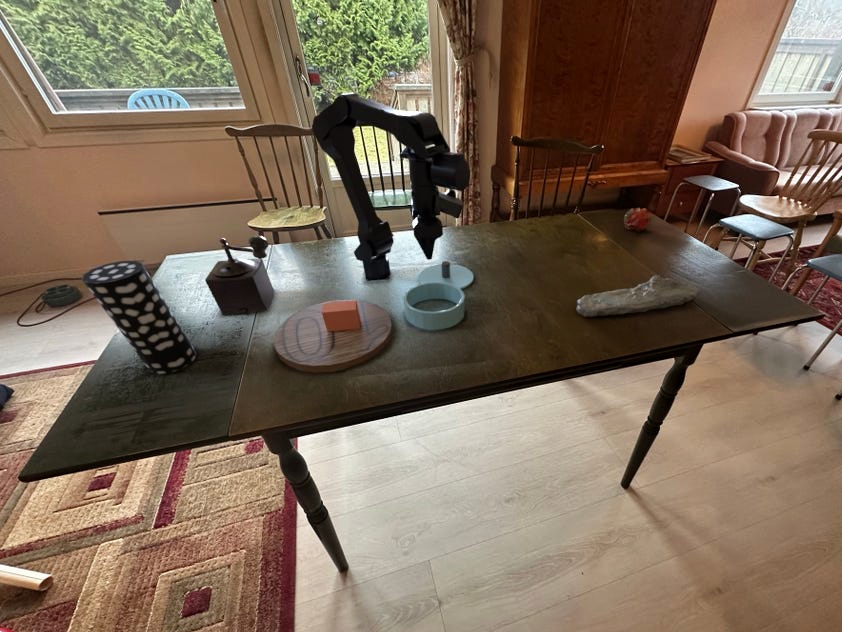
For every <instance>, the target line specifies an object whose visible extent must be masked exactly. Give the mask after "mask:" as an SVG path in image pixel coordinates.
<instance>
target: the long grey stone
mask: <svg viewBox="0 0 842 632" xmlns="http://www.w3.org/2000/svg"><path fill="white" fill-rule="evenodd" d="M698 295H699V288H698V287H696V285H694V284H692V283H689V282H683V281H681V280H678V279H676V278H670V277H667V278H666V277H665V278H664V277H662V276H661V275H653V276H652V277H650V279H649V280H648V281H646V282H644V283H639V284H638V285H637V286H635V287H630V288H622V289H621V288H619V289H614V290H611V291H610V290H609V291H603V292H597V293H593V294H584V295H583V296H582V297H580V298H579V299H577V301H576V304H577V305H576V312H577V313H578V314H579V315H580V316H582V317H585V318H591V317H598V316H599V317H604V316H605V317H606V316H614V315H620V316H621V315H624V314H635V313H645V312H647V311H650V310H655V309H656V310H657V309H665V308H669V307H673V306H681V305H684V303H687V302H691V301H692V300H695V299H696V298H697V296H698Z"/></svg>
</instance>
